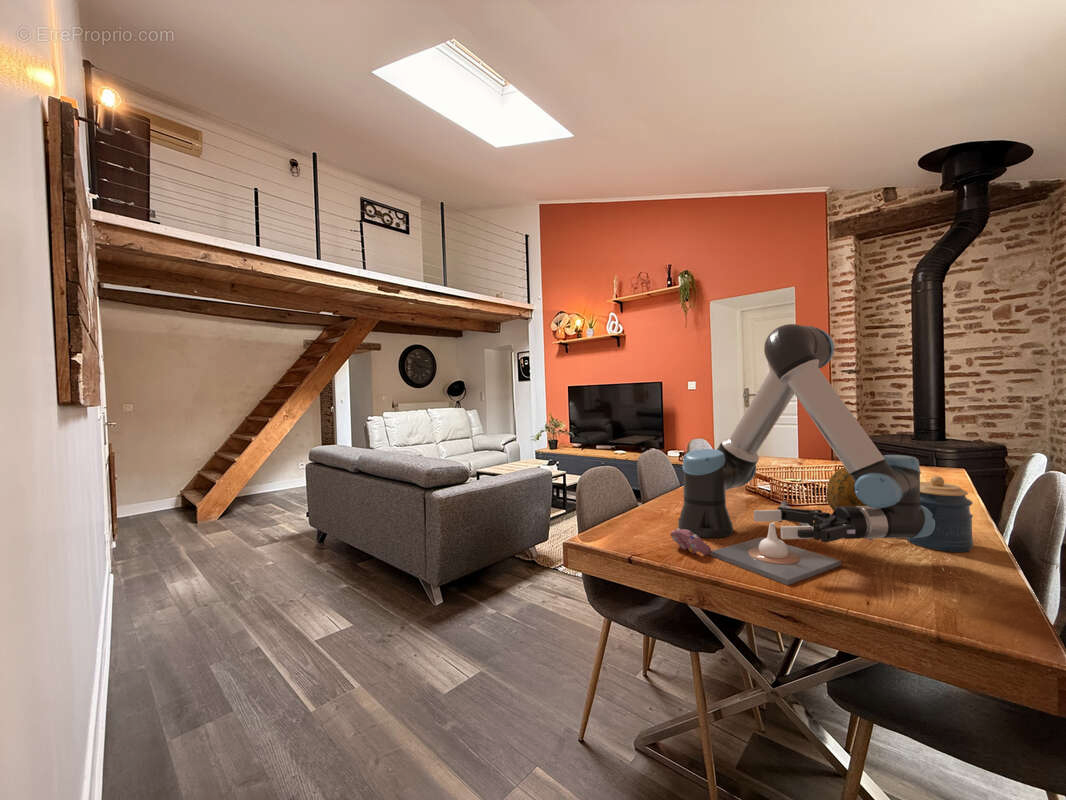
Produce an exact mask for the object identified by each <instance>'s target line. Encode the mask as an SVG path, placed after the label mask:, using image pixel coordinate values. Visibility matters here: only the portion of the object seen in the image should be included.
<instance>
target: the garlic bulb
mask: <svg viewBox="0 0 1066 800" xmlns="http://www.w3.org/2000/svg"><path fill="white" fill-rule="evenodd" d="M775 524H776V523H775V522H774V521H770V522H769V525H768V530H767V531H768V532H767V537H764V538H765V539H763V540H762V541H761V542H760V543H759V551H760V553H761V554H762V555H764V556H767V557H770V558H784V557H786V556H787V555H788V547H787V545H786V544H787V543H785V542H784V541H783V539H782V540H781V538H778V535H777V532H776V531H777V530H776V525H775Z"/></svg>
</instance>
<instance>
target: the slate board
mask: <svg viewBox="0 0 1066 800" xmlns="http://www.w3.org/2000/svg"><path fill="white" fill-rule="evenodd" d="M765 538H766V537H764V536H761V537H757V538H754V539H750V540H747V541H743V542H739V543H735V544H730V545H728V546H725V547H721V548H718V549H713V550H711V554H710V556H711V557H713V558H715V559H718V560H721V561H723V562H726V563H729V564H731V565H734V566H736V567H739V568H742V569H744V570H747V571H750V572H753V573H755V574H757V575H760V576H762V577H765V578H768V579H770V580H773V581H776V582H778V583H781V584H783V585H786V586H789V585H792V584H795V583H797V582H798V583H799V582H801V581H804V580H806V579H809V578H811V577H814V576H818V575H819V574H820V575H821V574H822V573H825V572H829V571H830V569H831V570H834V569H835V567H836V568H838V566H839V567H840V566H842V560H839V559H837V558H833V557H831V556H827V555H824V554H820V553H817V552H814V551H811V550H807V549H804V548H801V547H797V546H794V545H790V544H787V543H785V544H786V545H787V547H788V555H787V556H786V557H784V558H770V557H767V556H764V555H762V554H761V553H760V551H759V543H760V542H761V541H762V540H763V539H765Z"/></svg>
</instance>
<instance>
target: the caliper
mask: <svg viewBox="0 0 1066 800" xmlns="http://www.w3.org/2000/svg"><path fill="white" fill-rule="evenodd" d="M788 503H789V502H788V501H787V499H786V500H785V499H783V500H782V501H781V502H780V506H779V507H783V508H792V507H791V506H789V504H788ZM798 523H799V525H800V526H810V525H809V524H806V523H800V522H798ZM811 527H812V530H813V526H811Z"/></svg>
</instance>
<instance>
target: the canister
mask: <svg viewBox="0 0 1066 800" xmlns="http://www.w3.org/2000/svg"><path fill="white" fill-rule="evenodd" d="M968 494H969V492H968V491H967V490H965V489H963V488H961V487H960V486H959V485H955V484H951V483H945V480H944V478H943V477H942V476H939V475H936V476H932V477H931V478H930V481H920V504H921V506H924V507H926V508H927V509H928V510H929V511H930V512H931V513H932V515H933V516H932V518H933V519H934V520H935V529H934V531H933V533H932V534H931V535H929V536H926V537H920V538H906V540H907V541H908V542H909V541H910V542H909V543H911V544H913V545H916V546H919V547H922V548H927V549H931V550H935V551H940V552H941V551H942V552H954V553H964V552H969V551H972V549H973V546H974V542H973V541H974V539H973V518H974V515H973V514H972V513H971V510H970V509H971V508H970V507H971V506H972V505H973V504H974V503H973V500H971V499H969V498H967V495H968Z"/></svg>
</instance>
